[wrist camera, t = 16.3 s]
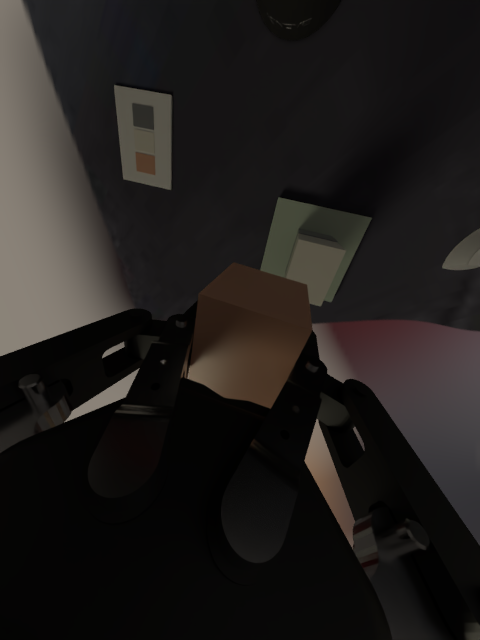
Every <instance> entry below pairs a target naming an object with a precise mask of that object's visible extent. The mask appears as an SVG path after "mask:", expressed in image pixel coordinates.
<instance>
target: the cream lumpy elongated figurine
mask: <svg viewBox="0 0 480 640" xmlns="http://www.w3.org/2000/svg"><path fill="white" fill-rule="evenodd" d="M477 267H480V228H479V229H478V230H476V231H475V232H473V233H472V234H470V235H469V236H468V237H466V238H465V239H464V240H462V241H461V242H460V243H459V244H458V245H457V246H456V247H455V248H454V249H453V250H452V251H451V253H450V254H449V255H448V257H447V258H446V260H445V262H444V264H443V267H442V268H444V269H449V270H466V269H472V268H477Z"/></svg>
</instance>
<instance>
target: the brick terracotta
mask: <svg viewBox="0 0 480 640" xmlns="http://www.w3.org/2000/svg"><path fill="white" fill-rule="evenodd" d="M311 332H312V322H311V314H310V305H309V297H308V288H307V284H303V283H300V282H297V281H294V280H290V279H287V278H284V277H280V276H277V275H274V274H270V273H267V272H264V271H260V270H257V269H254V268H250V267H247V266H244V265H241V264H237V263H234V262H233V263H232V264H231V265H230V266H229V267H228V268H227V269H226V270H225V271H223V272H222V273H221V274H220V275H219V276H218V277H217V278H216V279H215V280H213V281H212V282H211V283H210V284H209V285H208V286H207V287H206V288H204V289H203V290H202V291H201V292H200V293H199V296H198V304H197V313H196V321H195V329H194V338H193V346H192V354H191V362H190V372H189V379H190V380H192V381H195V382H198V383H201V384H204V385H205V386H207V387H208V388H210V389H211V390H213V391H214V392H216V393H218V394H219V395H221V396H222V397H224V398H229V399H238V400H246V401H251V402H254V403H256V404H259V405H262V406H265V407H267V408H270V409H271V407H272V406H273V404H274V402H275V400H276V398H277V397H278V395H279V393H280V391H281V389H282V388H283V386H284V384H285V382H286V380H287V378H288V377H289V375H290V373H291V371H292V369H293V367H294V365H295V363H296V361H297V359H298V357H299V355H300V353H301V351H302V350H303V348H304V346H305V344H306V342H307V340H308V338H309V336H310V334H311Z"/></svg>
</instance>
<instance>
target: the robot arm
mask: <svg viewBox="0 0 480 640" xmlns="http://www.w3.org/2000/svg"><path fill="white" fill-rule="evenodd" d="M256 2H257V5H258V9H259V13H260V15H261V17H262V19H263V21H264V23H265V25H266V26H267V27H268V28H269V30H270V31H271V32H272V33H273V34H275V35H276V36H278V37H279V38H282V39H285V40H299V39H302V38H305V37H308V36H309V35H311V34H312V33H314V32H315V31H317V30H318V29H319V28H320V27H321V26H322V25H323V24H324V23H325V22H326V21H327V20H328V19H329V18H330V16H331V15H332V14H333V12H334V11H335V10H336V8H337V7H338V5H339V3H340V2H341V0H256ZM197 304H198V301H196V303H194V304H193V306H191V307H190V308H189V309H188V310H187V311H186V312H185V313H184V314H176V315H172V316H171V317H169V318H168V320H167V321H161V320H152V315H151V313H150V312H149V311H147V310H144V309H130V310H127V311H124V312H121V313H118V314H115V315H113V316H110V317H107V318H105V319H102V320H99V321H96V322H94V323H91V324H88V325H85V326H83V327H80V328H77V329H74V330H72V331H69V332H66V333H63V334H61V335H58V336H55V337H53V338H50V339H47V340H44V341H42V342H39V343H36V344H33V345H30V346H28V347H25V348H22V349H19V350H17V351H14V352H11V353H8V354H6V355H3V356H0V640H480V546H479V544H478V543H477V541H476V540H475V539H474V537H473V535H472V534H471V533H470V531H469V530H468V528H467V527H466V525H465V524H464V523H463V521H462V520H461V518H460V517H459V515H458V514H457V512H456V511H455V510H454V508H453V507H452V505H451V504H450V502H449V501H448V500H447V498H446V497H445V495H444V494H443V492H442V491H441V490H440V488H439V486H438V485H437V484H436V482H435V481H434V479H433V478H432V476H431V475H430V473H429V472H428V471H427V469H426V468H425V466H424V465H423V463H422V462H421V461H420V459H419V458H418V456H417V455H416V453H415V452H414V450H413V449H412V448H411V446H410V445H409V443H408V442H407V440H406V439H405V437H404V436H403V434H402V433H401V432H400V430H399V429H398V427H397V426H396V424H395V423H394V421H393V420H392V419H391V417H390V416H389V414H388V413H387V411H386V410H385V408H384V407H383V406H382V404H381V403H380V401H379V400H378V398H377V397H376V396H375V394H374V393H373V391H372V390H371V389H370V388H369V387H368V386H366V385H365V384H363V383H362V382H360V381H357V380H354V379H348V380H346V381H345V382H344V383H342V382H340V381H338V380H336V379H334V378H333V377H331V376H330V375H328V374H327V367H326V366H325V365H324V363H323V362H322V361H321V360H320V359H319V353H318V346H317V338H316V335H315V333H314V332H313V330H312V332H311V334H310V336H309V338H308V340H307V342H306V344H305V346H304V348H303V350H302V351H301V353H300V355H299V357H298V359H297V361H296V363H295V365H294V367H293V369H292V371H291V373H290V375H289V377H288V378H287V380H286V382H285V384H284V386H283V388H282V389H281V391H280V393H279V395H278V397H277V398H276V400H275V402H274V404H273V406H272V407H271V409H270V408H267V407H265V406H262V405H259V404H256V403H254V402H251V401H246V400H238V399H229V398H224V397H222V396H221V395H219V394H218V393H216V392H214V391H213V390H211V389H210V388H208V387H207V386H205V385H204V384H201V383H198V382H195V381H192V380H190V379H187V378H188V373H189V368H190V362H191V354H192V346H193V338H194V329H195V321H196V313H197ZM122 342H124V345H125V347H124V348H122V349H120V350H118V351H116V352H114V353H112V354H110V355H108V356H106V357H104V358H102V356H103V354H104V352H105V351H106V350H108V349H109V348H111V347H113V346H116V345H118V344H120V343H122ZM138 368H140V369H139V371H138V373H137V375H136V377H135V379H134V381H133V383H132V385H131V387H130V390H129V392H128V394H127V396H126V397H125V398H123V399H121V400H118V401H116V402H113V403H111V404H108V405H106V406H104V407H101V408H99V409H96V410H94V411H92V412H89V413H87V414H84V415H82V416H79V417H77V418H74V419H72V420H70V421H67V422H65V423H64V421H65V420H66V419H67V418H68V417H69V416H70V414H71V412H72V411H73V410H74V409H76V408H77V407H79V406H80V405H82V404H83V403H85V402H87V401H88V400H90V399H91V398H93V397H94V396H96V395H97V394H99V393H101V392H102V391H104V390H106V389H107V388H109V387H110V386H112V385H113V384H115V383H117V382H118V381H120V380H121V379H123V378H124V377H126V376H128V375H129V374H131V373H132V372H134V371H135V370H137V369H138ZM316 419H318V420H319V425H320V428H321V430H322V433H323V436H324V438H325V441H326V444H327V447H328V449H329V452H330V455H331V457H332V460H333V463H334V465H335V468H336V471H337V474H338V476H339V478H340V482H341V484H342V487H343V490H344V492H345V495H346V498H347V501H348V503H349V506H350V508H351V511H352V514H353V517H354V520H355V524H354V526H353V540H354V544H353V549H352V547H351V545H350V544H349V542H348V540H347V538H346V536H345V535H344V533H343V531H342V529H341V528H340V525H339V524H338V522H337V520H336V518H335V516H334V514H333V513H332V511H331V509H330V507H329V505H328V504H327V502H326V500H325V498H324V496H323V494H322V493H321V491H320V489H319V487H318V485H317V483H316V482H315V480H314V478H313V476H312V474H311V472H310V471H309V469H308V467H307V465H306V464H305V461H304V460H305V456H306V453H307V449H308V446H309V442H310V439H311V435H312V432H313V429H314V425H315V422H316ZM354 427H356V429H357V431H358V432H359V434H360V436H361V438H362V440H363V442H364V447H365V451H364V450H363V448H362V446H361V444H360V442H359V440H358V439H357V436H356V434H355V433H354V430H353V428H354Z"/></svg>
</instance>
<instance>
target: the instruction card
mask: <svg viewBox="0 0 480 640" xmlns="http://www.w3.org/2000/svg"><path fill="white" fill-rule="evenodd" d="M114 91H115V101H116V111H117V120H118V130H119V140H120V150H121V160H122V170H123V179H125V180H130V181H134V182H138V183H143V184H147V185H152V186H156V187H160V188H165V189H169V190H172V95H168V94H163V93H157V92H151V91H145V90H139V89H134V88H128V87H122V86H116V85H114Z"/></svg>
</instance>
